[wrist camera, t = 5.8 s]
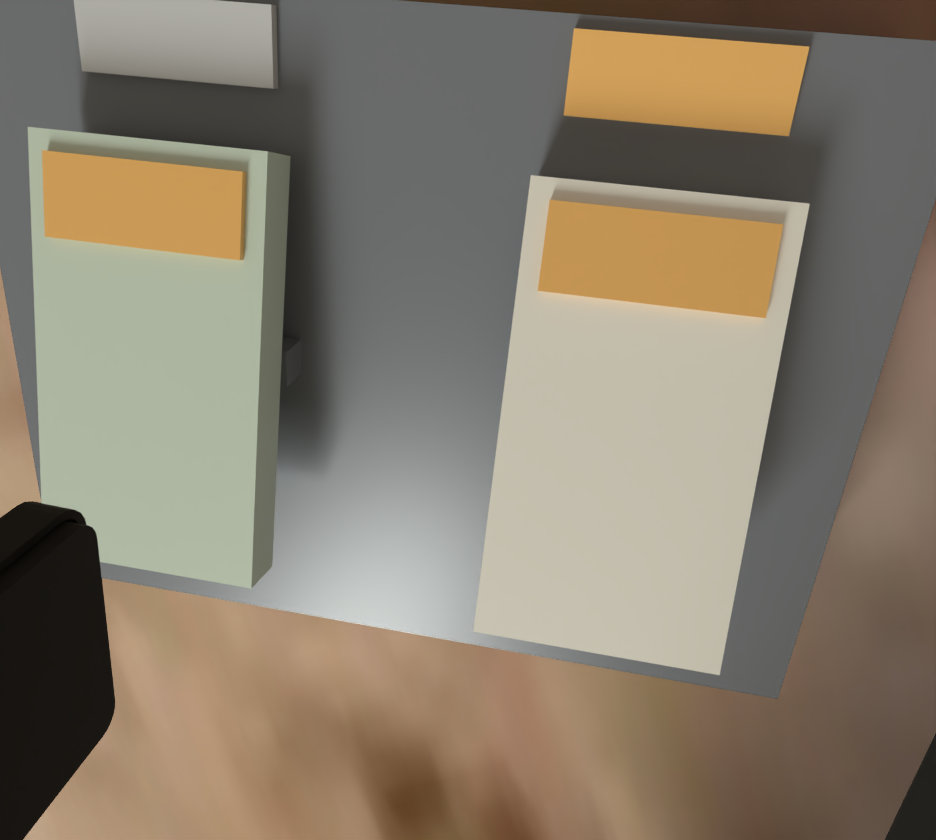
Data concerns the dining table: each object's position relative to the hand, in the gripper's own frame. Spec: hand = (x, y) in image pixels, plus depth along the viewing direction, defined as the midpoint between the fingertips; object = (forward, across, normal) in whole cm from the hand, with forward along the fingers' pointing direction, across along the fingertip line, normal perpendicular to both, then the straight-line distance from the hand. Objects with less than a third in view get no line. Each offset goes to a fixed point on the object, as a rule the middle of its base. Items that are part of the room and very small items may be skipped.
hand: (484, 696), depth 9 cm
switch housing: (+18, +4, +2) cm, 19 cm away
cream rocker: (+12, -2, +2) cm, 12 cm away
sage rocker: (+12, +10, +2) cm, 15 cm away
